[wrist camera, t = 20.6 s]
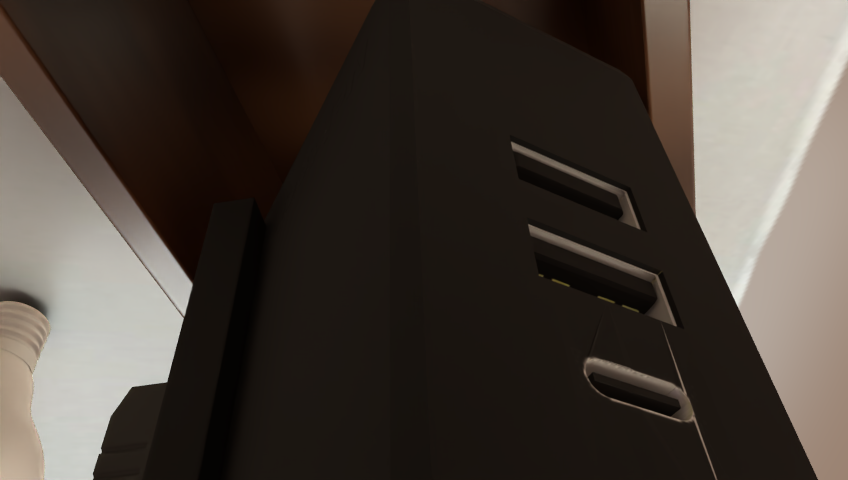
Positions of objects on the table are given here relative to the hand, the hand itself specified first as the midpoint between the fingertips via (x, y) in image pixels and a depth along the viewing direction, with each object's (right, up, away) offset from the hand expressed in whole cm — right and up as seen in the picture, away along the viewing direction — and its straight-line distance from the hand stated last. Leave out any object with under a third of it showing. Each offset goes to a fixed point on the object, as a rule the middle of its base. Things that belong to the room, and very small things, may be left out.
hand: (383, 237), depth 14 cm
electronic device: (0, +1, +1) cm, 1 cm away
